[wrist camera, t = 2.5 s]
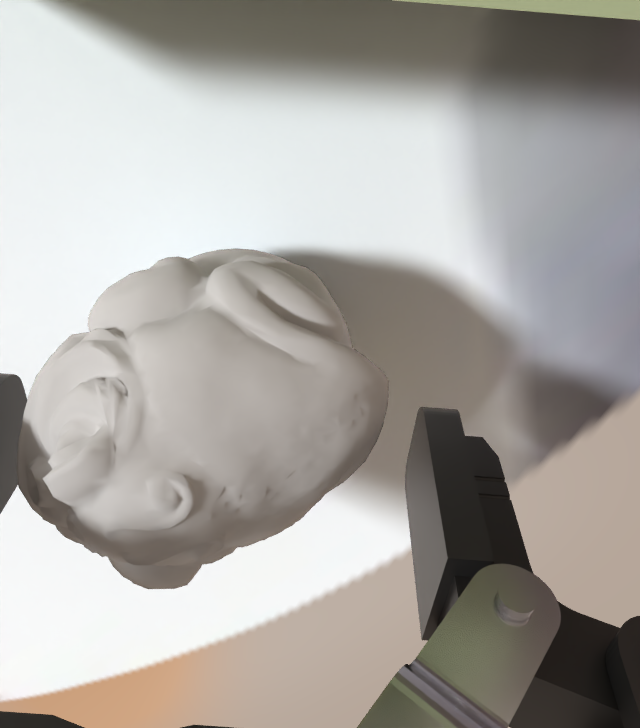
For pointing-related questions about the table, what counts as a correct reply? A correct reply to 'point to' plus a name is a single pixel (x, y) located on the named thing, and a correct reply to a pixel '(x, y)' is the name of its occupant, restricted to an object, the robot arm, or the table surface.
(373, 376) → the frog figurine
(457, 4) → the tray
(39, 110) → the table surface
